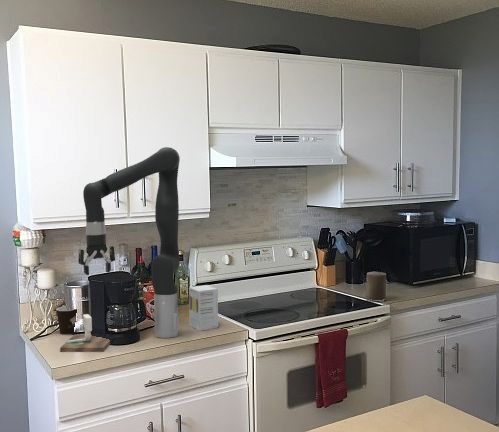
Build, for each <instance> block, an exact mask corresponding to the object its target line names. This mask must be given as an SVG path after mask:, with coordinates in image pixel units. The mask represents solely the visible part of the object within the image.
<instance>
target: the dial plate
mask: <svg viewBox="0 0 499 432" xmlns="http://www.w3.org/2000/svg"><path fill="white" fill-rule="evenodd" d="M92 335H93V334H91V340H90V341H78V342H71V343H68V341H69V340H77V339H84V338H85V334H74V335H72V336H70V338H69V339H68V340H66V342H64V343H63V344H62V346H60V348H59V350H60V352H61V353H62V352H63V353H65V352H66V353H68V352H69V353H70V352H71V353H72V352H73V353H75V352H83V353H84V352H85V353H86V352H88V353H89V352H93V353H95V352H97V353H99V352H101V353H102V352H105V350H106V349H107V348H108V347H109V345H110V344H111V343H110V340H109V339H106V338H102V337H96V336H92Z"/></svg>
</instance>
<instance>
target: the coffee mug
mask: <svg viewBox="0 0 499 432" xmlns="http://www.w3.org/2000/svg"><path fill="white" fill-rule="evenodd" d="M66 306H67V305H64V306H60V307H57V308H56V316H57V324H58V328H59V334H60V335H71V334H75V333H74V327H75V322H76V313H77V309H74V310H69V311H67V309H66Z"/></svg>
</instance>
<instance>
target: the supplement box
mask: <svg viewBox="0 0 499 432" xmlns="http://www.w3.org/2000/svg"><path fill="white" fill-rule="evenodd" d="M188 291H189V292H188V297H189V299H188V300H189V302H188V303H189V307H188V309H189V312H188V313H189V315H188V316H189V318H188V319H189V326H190V327H192V328H193V329H195V330H197V331H204V330H212V329H216V328H217V327H218V328H219V305H218V303H219V294H218V293H219V290H218V288H216V287H213V286H211V285H209V284H204V285H195V286H189V288H188ZM218 328H217V329H218Z"/></svg>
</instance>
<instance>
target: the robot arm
mask: <svg viewBox="0 0 499 432" xmlns="http://www.w3.org/2000/svg"><path fill="white" fill-rule="evenodd" d="M180 158H181V157H180V154H179V153H178V151H177V150H176V149H175V148H172V147H168V146H167V147H166V146H165V147H162V148H159V150H158V151H156V152H155V153H153V154H151V155H150V156H148V157H147V158H145V159H144V160H141V161H140V162H137V163H135V164H132V165H129V166H127V167H124V168H122V169H120V170H117V171H115V172H113V173H110V174H108V175H107V176H105V177H104V178H102V179H99V180H97V181H94V182H89V183H87V184H85V186H84V188H83V191H82V195H83V203H84V207H85V236H86V237H85V240H86V243H85V244H86V247H85V248H79V249H78V264H79V265H82V266H83V273H84V275H85V276H89V275H90V266H89V264H90V263H91V262H92V261H93V260H97V259H102V260H104V261H105V272H106V273H110V272H111V270H112V269H111V267H112V265H111V264H112V262H115V261H116V254H115V252H116V251H115V246H112V245H108V246H107V229H106V221H105V210H104V207H103V204H102V199H104V198H106V197H107V196H109V195H111V194H113V193H115V192H118V191H121V190H123V189H125V188H127V187H129V186H132V185H134V184H135V183H137V182H139V181H141V180H143V179H144V178H147V177H149V176H151V175H154V174H158V187H157V192H156V197H155V198H156V199H155V206H154V207H155V210H154V211H155V212H154V214H155V215H154V216H155V217H154V219H155V225H156V229H157V232H158V235H159V237H160V238H159V239H160V240H159V241H160V248H159V249H160V251H159V254H158V255H156V256H155V257H154V258H152V261H151V267H150V271H151V272H150V273H151V286H152V288H153V297H154V298H153V300H154V301H153V303H154V307H153V309H154V336H155V337H156V338H162V339H163V338H165V339H169V338H177V337H178V335H179V334H180V333H179V332H180V330H179V328H180V327H179V324H180V322H179V320H180V319H179V309H178V307H179V306H178V286H177V285H176V284H175V280H174V278H175V277H174V274H175V273H177V271H178V270H179V267H180V255H179V237H178V236H179V218H180V217H179V216H180V215H179V212H180V211H179V210H180V209H179V207H180V206H179V204H180V203H179V191H178V178H179V177H178V176H179V167H180ZM107 252H109V256H108V255H107ZM86 254H87V255H86ZM85 255H86V257H84V256H85Z"/></svg>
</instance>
